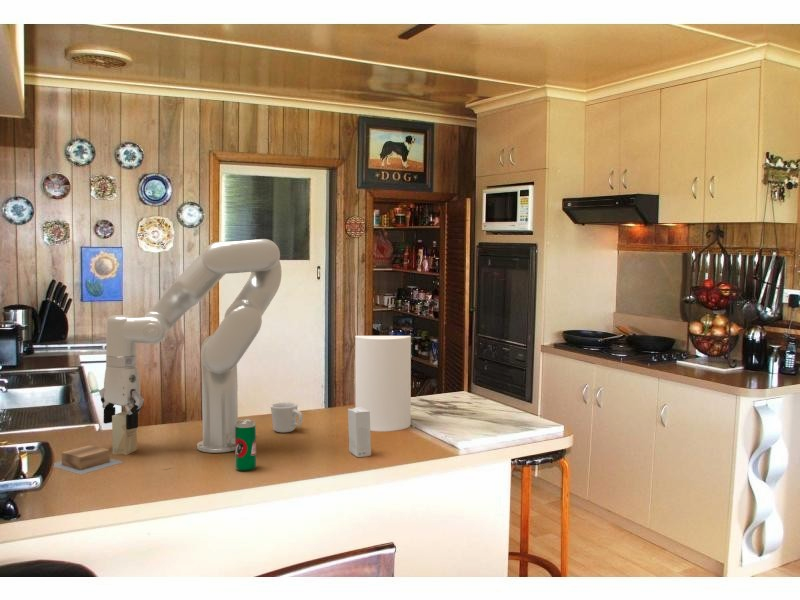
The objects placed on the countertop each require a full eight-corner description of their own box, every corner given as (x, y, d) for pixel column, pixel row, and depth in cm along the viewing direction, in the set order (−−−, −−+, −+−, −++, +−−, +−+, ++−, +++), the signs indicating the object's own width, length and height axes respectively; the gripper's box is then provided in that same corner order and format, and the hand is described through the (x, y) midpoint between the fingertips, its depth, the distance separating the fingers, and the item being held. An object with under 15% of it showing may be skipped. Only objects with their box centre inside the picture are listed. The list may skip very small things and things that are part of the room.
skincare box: (371, 455, 188) (371, 411, 187) (356, 458, 186) (356, 412, 185) (362, 450, 193) (362, 406, 192) (347, 452, 191) (347, 407, 190)
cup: (310, 431, 213) (310, 405, 213) (292, 436, 206) (292, 410, 206) (283, 426, 219) (283, 400, 218) (265, 431, 212) (265, 405, 212)
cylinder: (410, 431, 213) (410, 339, 211) (353, 431, 213) (353, 339, 211) (410, 417, 230) (410, 332, 228) (357, 417, 230) (357, 332, 228)
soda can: (256, 471, 174) (255, 423, 174) (235, 472, 173) (234, 424, 173) (256, 465, 179) (255, 418, 179) (235, 466, 178) (235, 419, 177)
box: (126, 457, 186) (125, 416, 185) (112, 456, 186) (110, 415, 186) (137, 452, 191) (136, 411, 190) (123, 451, 192) (122, 411, 191)
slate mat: (124, 465, 179) (124, 462, 179) (80, 477, 169) (80, 474, 169) (91, 456, 187) (91, 453, 187) (47, 467, 177) (47, 464, 177)
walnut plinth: (109, 462, 179) (109, 449, 179) (80, 470, 172) (80, 457, 172) (91, 456, 184) (90, 444, 183) (61, 464, 177) (61, 452, 177)
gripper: (154, 364, 185) (153, 428, 186) (113, 356, 195) (113, 418, 196) (129, 367, 179) (128, 433, 180) (89, 359, 188) (88, 422, 189)
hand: (120, 425), depth 188 cm, fingers open, 9 cm apart
